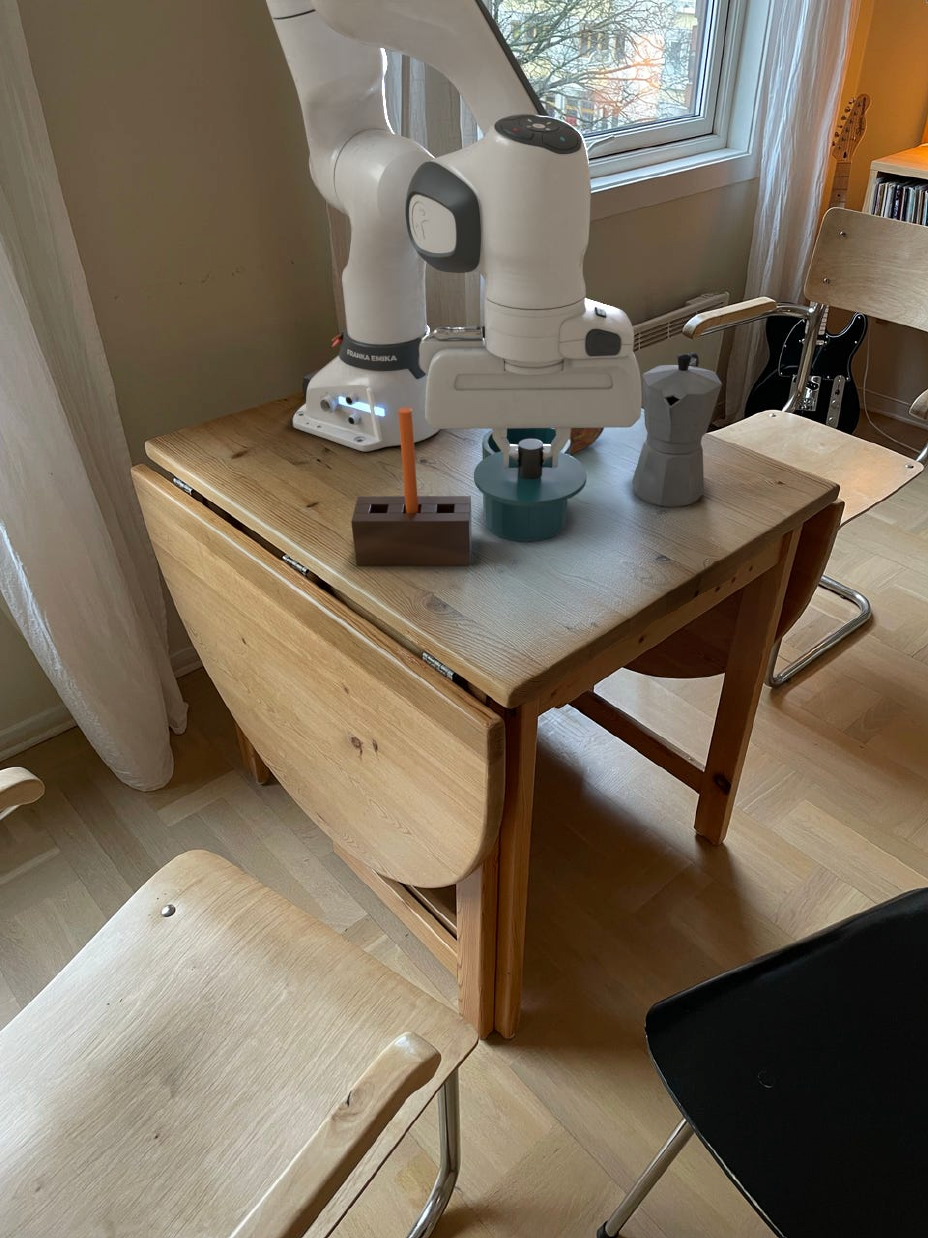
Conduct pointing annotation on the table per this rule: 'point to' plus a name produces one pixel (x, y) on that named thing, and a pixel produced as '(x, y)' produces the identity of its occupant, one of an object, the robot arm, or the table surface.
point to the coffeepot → (675, 432)
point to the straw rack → (412, 531)
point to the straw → (408, 459)
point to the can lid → (530, 477)
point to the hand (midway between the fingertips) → (530, 465)
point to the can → (523, 519)
